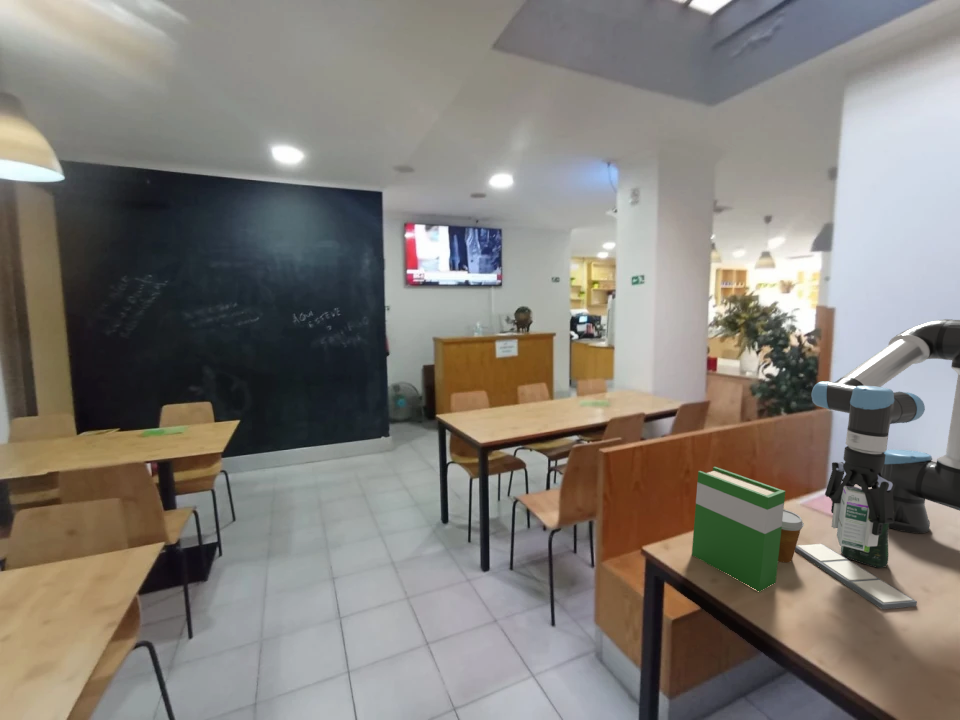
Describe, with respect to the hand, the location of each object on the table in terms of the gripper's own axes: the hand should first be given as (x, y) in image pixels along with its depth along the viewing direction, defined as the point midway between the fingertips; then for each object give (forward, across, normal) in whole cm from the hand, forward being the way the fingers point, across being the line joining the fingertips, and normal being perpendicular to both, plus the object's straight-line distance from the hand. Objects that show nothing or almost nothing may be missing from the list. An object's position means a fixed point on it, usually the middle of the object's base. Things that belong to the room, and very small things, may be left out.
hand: (853, 535), depth 108 cm
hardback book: (+11, -6, -28) cm, 31 cm away
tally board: (+11, 0, 0) cm, 11 cm away
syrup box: (+2, 0, 0) cm, 2 cm away
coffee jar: (+11, -6, +11) cm, 17 cm away
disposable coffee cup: (+11, -10, -11) cm, 18 cm away
